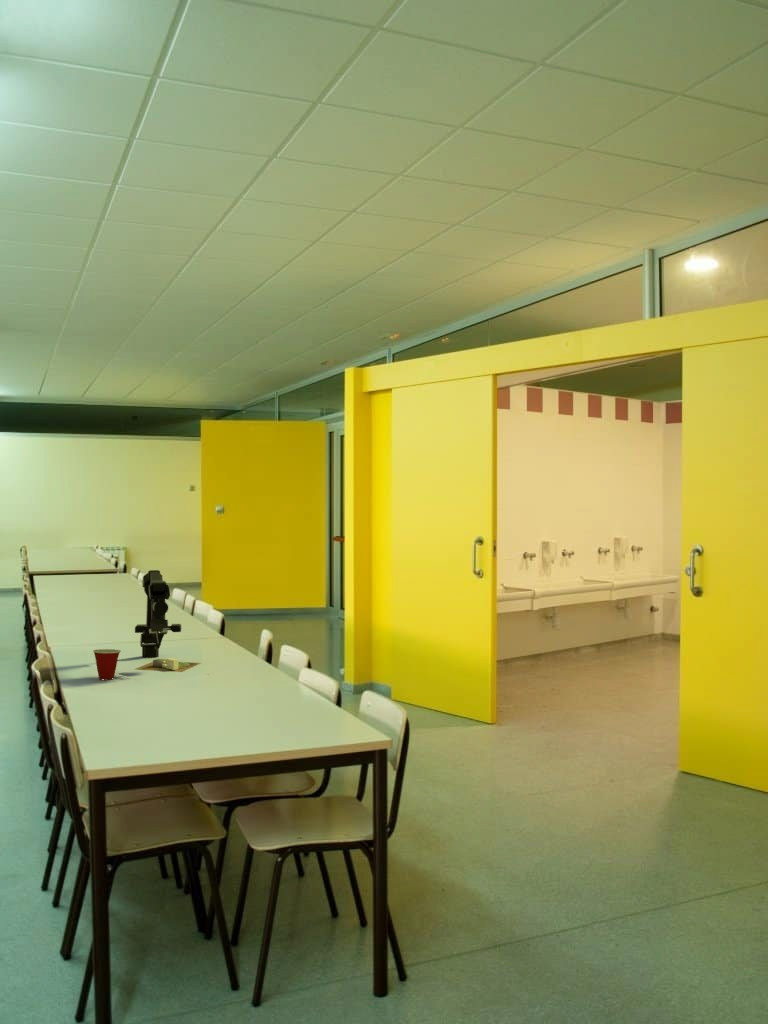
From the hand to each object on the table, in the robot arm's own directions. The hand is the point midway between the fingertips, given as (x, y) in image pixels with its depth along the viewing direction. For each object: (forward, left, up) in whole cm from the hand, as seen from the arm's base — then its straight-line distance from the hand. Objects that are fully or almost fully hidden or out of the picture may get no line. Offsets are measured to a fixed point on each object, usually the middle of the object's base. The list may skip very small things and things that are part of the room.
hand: (158, 648), depth 363 cm
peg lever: (0, +6, -9) cm, 11 cm away
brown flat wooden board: (-1, +11, -11) cm, 15 cm away
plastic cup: (-16, -14, -11) cm, 24 cm away
